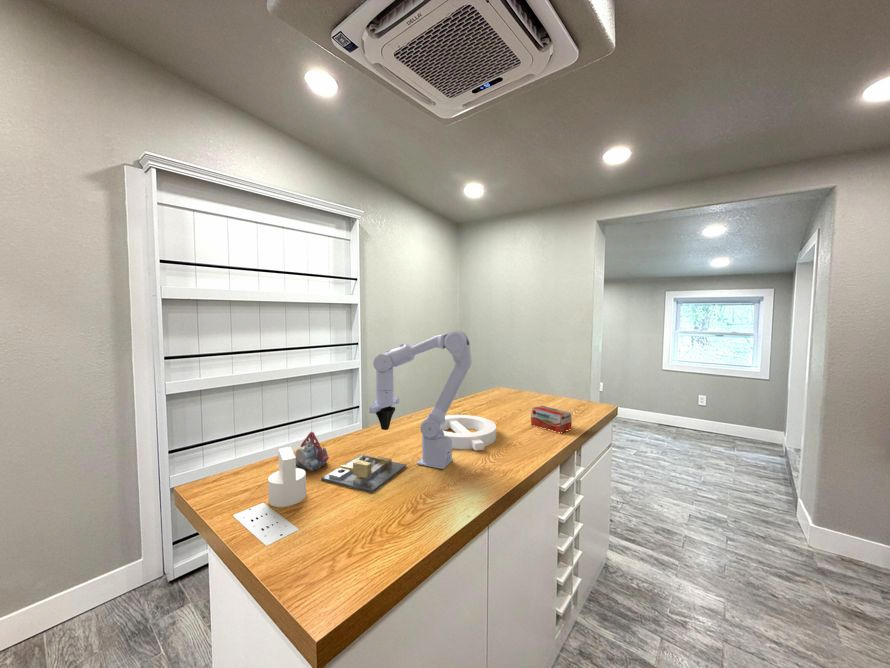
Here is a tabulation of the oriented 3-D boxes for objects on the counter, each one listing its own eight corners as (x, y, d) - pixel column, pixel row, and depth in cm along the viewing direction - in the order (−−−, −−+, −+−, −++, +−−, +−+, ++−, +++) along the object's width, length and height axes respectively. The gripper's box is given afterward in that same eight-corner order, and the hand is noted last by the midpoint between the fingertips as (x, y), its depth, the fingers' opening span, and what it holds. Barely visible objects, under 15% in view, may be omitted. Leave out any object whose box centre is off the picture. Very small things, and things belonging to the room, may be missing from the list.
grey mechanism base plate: (406, 467, 110) (406, 457, 110) (372, 493, 94) (372, 481, 93) (360, 457, 117) (360, 448, 117) (321, 480, 101) (321, 469, 101)
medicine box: (571, 430, 146) (572, 412, 145) (560, 435, 141) (561, 415, 140) (541, 422, 157) (541, 404, 157) (530, 425, 152) (530, 407, 152)
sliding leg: (371, 475, 99) (371, 462, 99) (367, 478, 97) (367, 465, 97) (342, 468, 103) (342, 456, 103) (338, 471, 102) (338, 459, 101)
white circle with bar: (444, 422, 158) (444, 411, 157) (504, 431, 145) (504, 420, 145) (412, 442, 133) (412, 430, 132) (481, 455, 120) (481, 441, 120)
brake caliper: (340, 454, 114) (321, 432, 107) (319, 485, 107) (297, 463, 100) (318, 447, 120) (299, 426, 113) (296, 476, 113) (274, 455, 106)
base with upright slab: (309, 500, 90) (308, 455, 89) (270, 510, 85) (269, 463, 85) (302, 486, 98) (301, 444, 97) (267, 494, 93) (265, 451, 92)
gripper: (386, 384, 124) (387, 421, 125) (361, 392, 111) (361, 434, 111) (404, 385, 121) (404, 424, 122) (379, 394, 108) (380, 437, 108)
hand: (385, 429), depth 116 cm, fingers closed
